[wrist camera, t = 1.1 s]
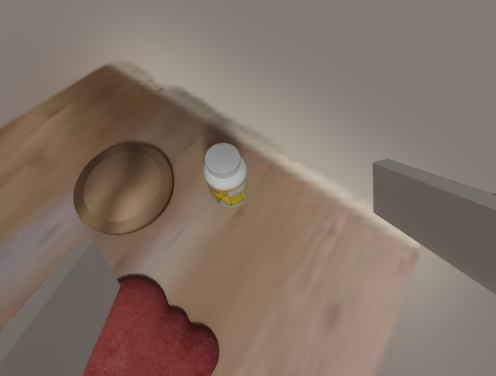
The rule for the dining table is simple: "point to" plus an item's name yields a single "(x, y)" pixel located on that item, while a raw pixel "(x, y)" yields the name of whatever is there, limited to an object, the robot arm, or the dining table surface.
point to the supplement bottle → (226, 174)
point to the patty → (150, 337)
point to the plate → (123, 189)
